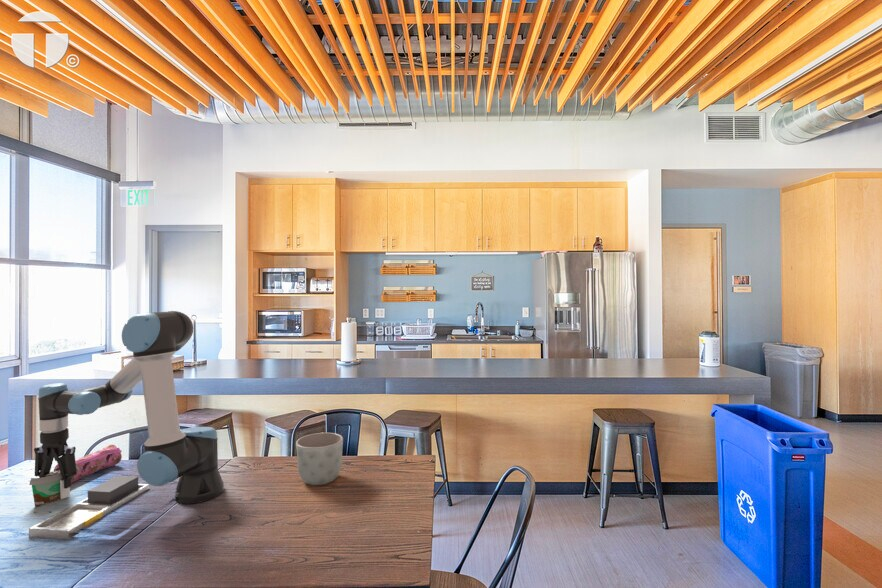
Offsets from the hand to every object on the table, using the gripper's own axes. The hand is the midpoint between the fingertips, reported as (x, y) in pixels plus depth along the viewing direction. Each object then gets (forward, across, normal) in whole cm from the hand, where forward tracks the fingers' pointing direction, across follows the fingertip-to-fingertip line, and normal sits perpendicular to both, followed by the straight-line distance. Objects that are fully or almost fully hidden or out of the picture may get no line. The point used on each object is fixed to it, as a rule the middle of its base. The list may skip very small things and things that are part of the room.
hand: (56, 496), depth 158 cm
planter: (+2, -84, -25) cm, 88 cm away
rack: (+1, -20, +6) cm, 21 cm away
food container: (+2, 0, 0) cm, 2 cm away
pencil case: (+2, +8, -21) cm, 23 cm away
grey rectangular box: (0, -20, -2) cm, 20 cm away
